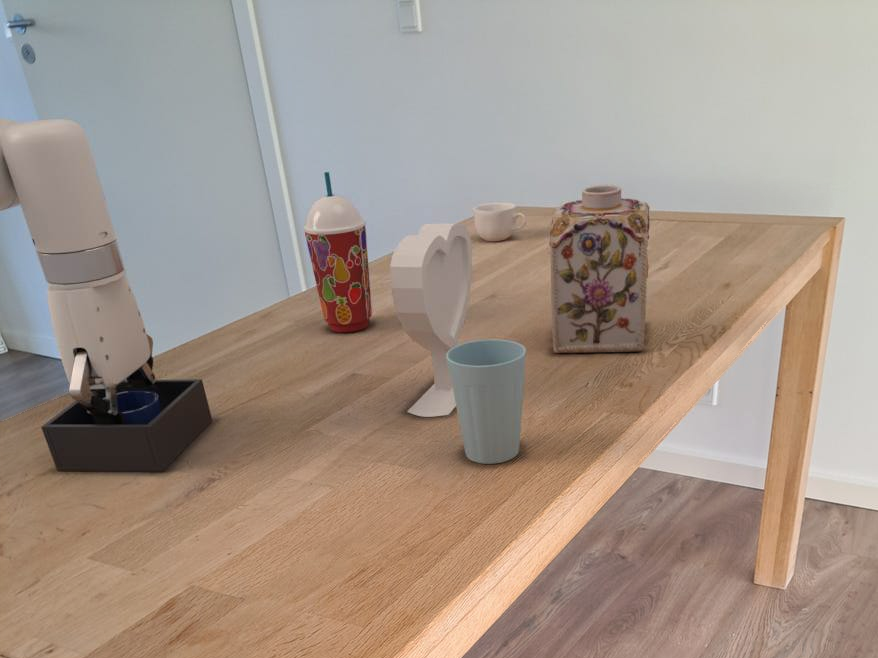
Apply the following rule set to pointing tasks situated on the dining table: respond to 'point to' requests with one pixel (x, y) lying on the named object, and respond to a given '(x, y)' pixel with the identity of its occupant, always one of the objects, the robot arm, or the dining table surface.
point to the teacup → (496, 220)
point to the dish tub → (130, 432)
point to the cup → (488, 397)
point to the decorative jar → (599, 272)
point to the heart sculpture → (433, 301)
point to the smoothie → (339, 261)
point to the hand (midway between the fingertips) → (134, 432)
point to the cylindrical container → (138, 406)
